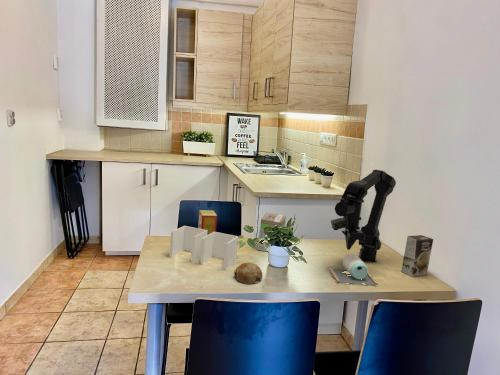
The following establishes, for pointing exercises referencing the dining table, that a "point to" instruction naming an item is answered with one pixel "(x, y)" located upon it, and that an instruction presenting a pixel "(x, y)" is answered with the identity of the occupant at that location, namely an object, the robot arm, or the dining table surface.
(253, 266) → the bread roll
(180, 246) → the zigzag folding screen
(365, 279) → the mat
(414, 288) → the dining table surface
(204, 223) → the baking soda box
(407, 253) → the coffee box
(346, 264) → the can
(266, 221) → the tea box
